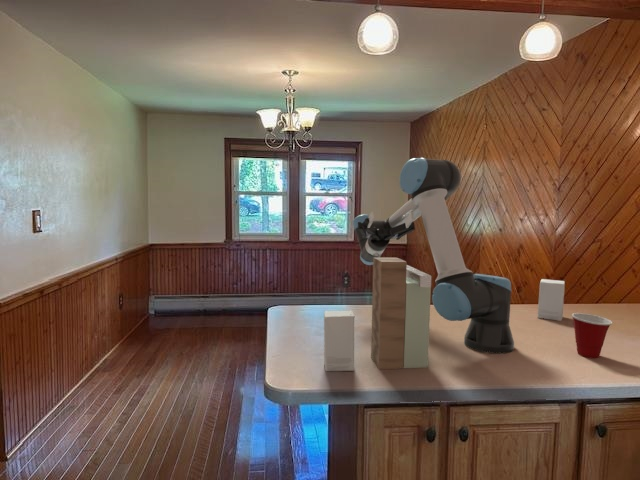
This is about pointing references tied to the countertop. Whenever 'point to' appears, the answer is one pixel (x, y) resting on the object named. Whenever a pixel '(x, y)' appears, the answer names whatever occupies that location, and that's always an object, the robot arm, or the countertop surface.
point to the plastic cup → (590, 333)
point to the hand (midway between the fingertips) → (392, 215)
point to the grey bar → (418, 277)
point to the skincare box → (339, 340)
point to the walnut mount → (388, 312)
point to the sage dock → (416, 326)
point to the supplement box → (551, 299)
